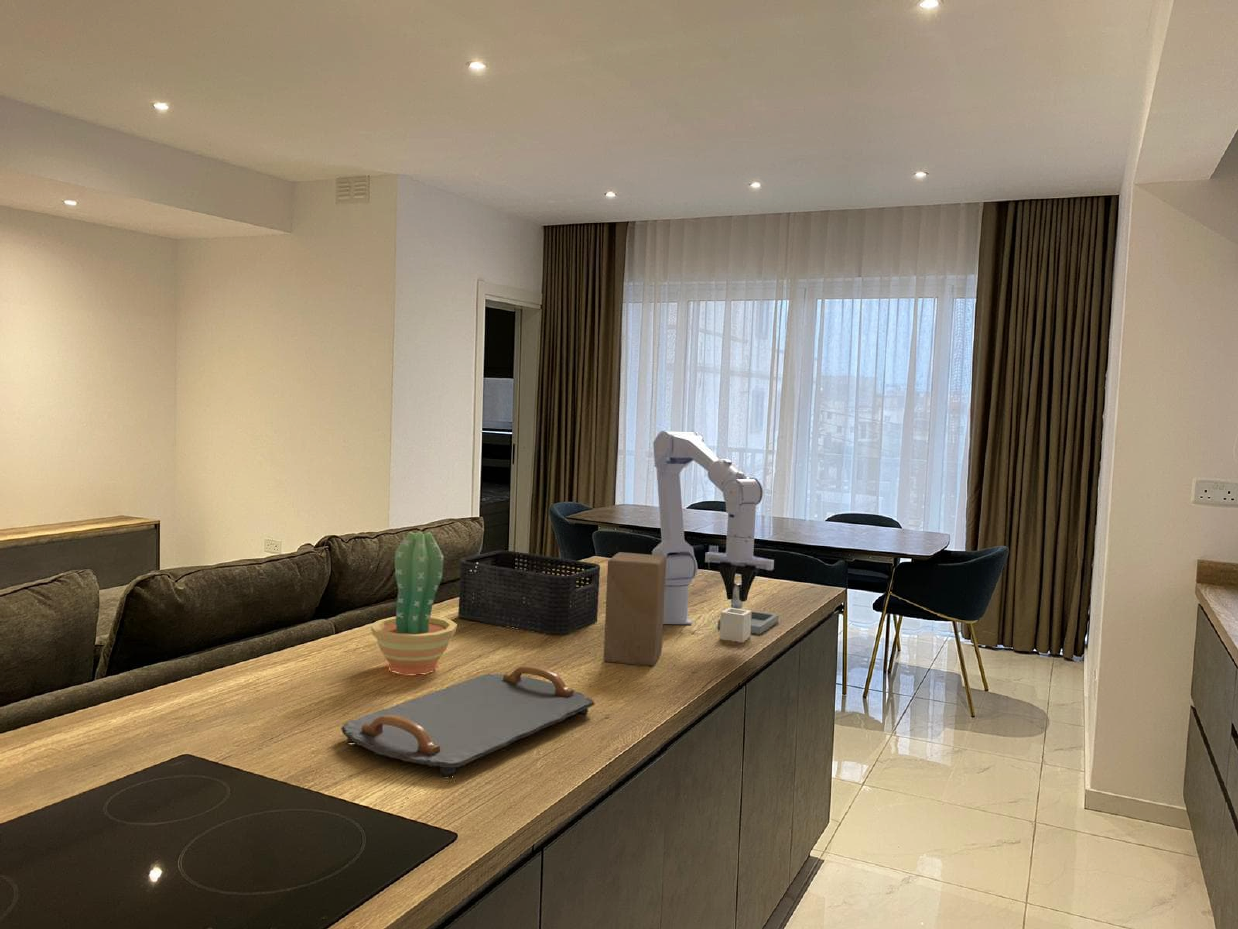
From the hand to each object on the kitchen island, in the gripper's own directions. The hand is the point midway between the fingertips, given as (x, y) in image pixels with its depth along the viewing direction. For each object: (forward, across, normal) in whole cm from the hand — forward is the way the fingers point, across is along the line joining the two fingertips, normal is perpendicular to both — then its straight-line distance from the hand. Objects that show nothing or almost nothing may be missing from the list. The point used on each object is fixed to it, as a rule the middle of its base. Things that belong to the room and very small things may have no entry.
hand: (736, 599), depth 191 cm
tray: (+10, -3, +19) cm, 22 cm away
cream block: (+10, -2, +6) cm, 12 cm away
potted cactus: (+10, -44, -51) cm, 68 cm away
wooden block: (+10, -14, -21) cm, 27 cm away
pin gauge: (+2, 0, 0) cm, 2 cm away
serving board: (+10, -17, -69) cm, 72 cm away
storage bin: (+10, -47, -6) cm, 49 cm away
